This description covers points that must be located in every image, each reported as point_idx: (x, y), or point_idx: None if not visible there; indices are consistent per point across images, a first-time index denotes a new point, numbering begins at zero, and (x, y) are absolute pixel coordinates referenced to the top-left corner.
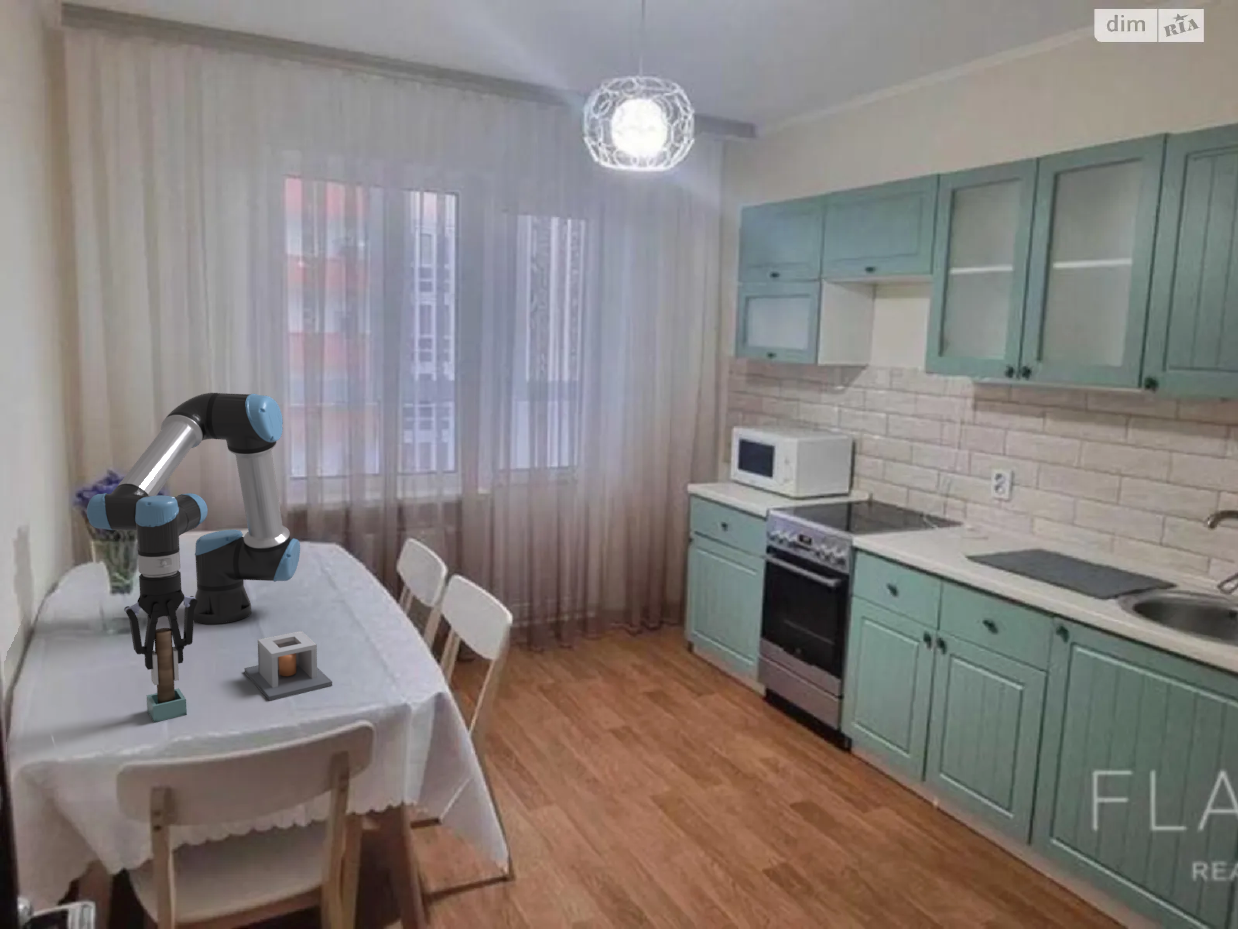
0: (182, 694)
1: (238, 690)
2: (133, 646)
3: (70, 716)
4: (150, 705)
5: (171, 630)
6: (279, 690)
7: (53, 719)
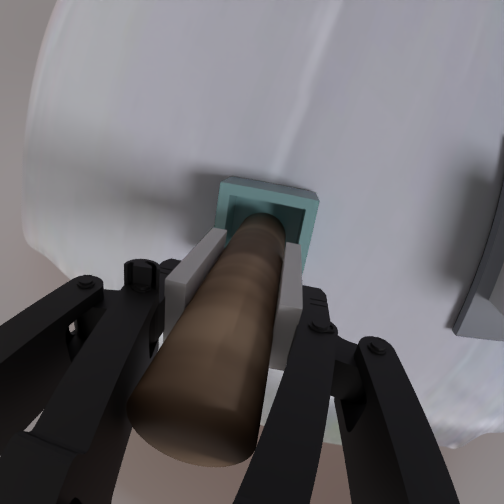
0: (306, 253)
1: (456, 224)
2: (64, 285)
3: (97, 86)
4: None
5: (245, 458)
6: (484, 322)
7: (74, 83)
